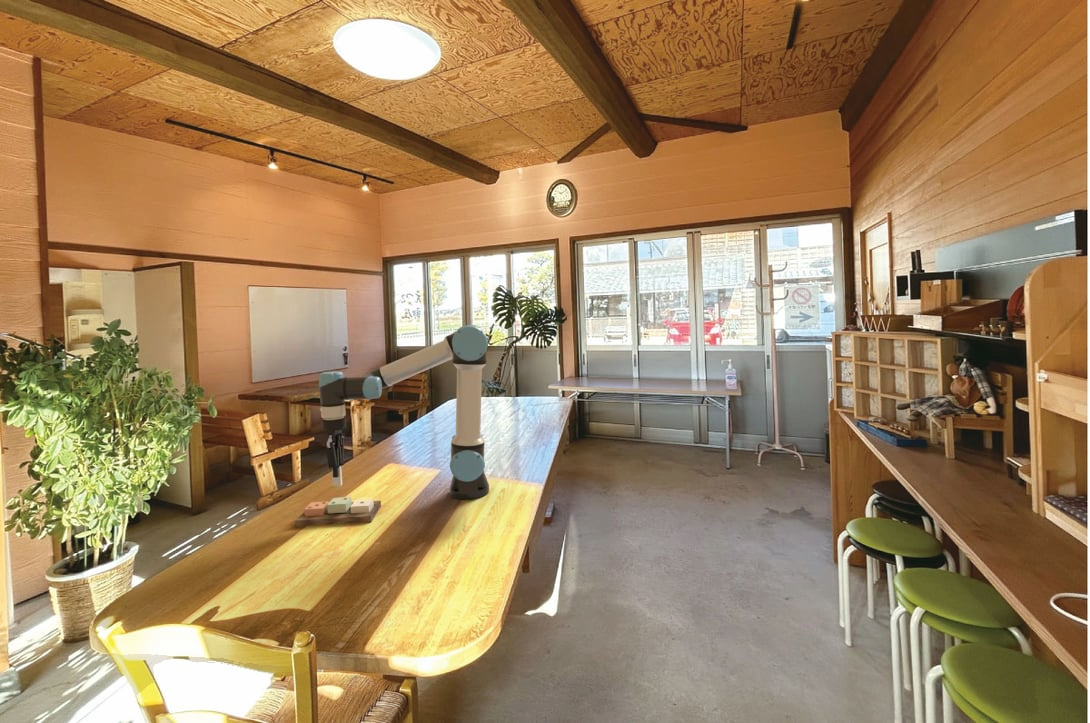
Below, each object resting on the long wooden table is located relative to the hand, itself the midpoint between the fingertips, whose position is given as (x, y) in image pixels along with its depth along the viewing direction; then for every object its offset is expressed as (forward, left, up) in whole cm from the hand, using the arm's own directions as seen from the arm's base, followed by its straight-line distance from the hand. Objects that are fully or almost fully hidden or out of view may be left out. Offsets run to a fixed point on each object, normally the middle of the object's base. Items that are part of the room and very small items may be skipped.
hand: (337, 485), depth 160 cm
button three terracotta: (+7, 0, -10) cm, 12 cm away
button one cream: (-8, 0, -10) cm, 12 cm away
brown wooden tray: (0, 0, -11) cm, 11 cm away
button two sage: (0, 0, -9) cm, 9 cm away
